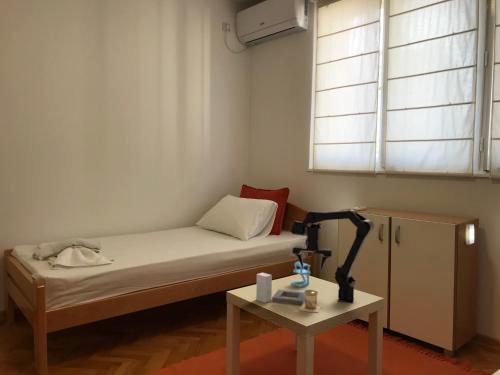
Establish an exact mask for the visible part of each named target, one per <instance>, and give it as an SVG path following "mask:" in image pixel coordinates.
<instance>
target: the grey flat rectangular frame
mask: <svg viewBox="0 0 500 375" xmlns="http://www.w3.org/2000/svg"><path fill="white" fill-rule="evenodd" d="M284 296H285V297H284ZM286 296H288V297H286ZM294 297H295V298H294ZM271 301H272V302H275V303H276V302H277V303H283V304H291V305H300V306H302V305H303V303H304V304H305V291H304V292H303V291H296V290H287V289H277V291H275V293H274V294H273V296H272V297H271Z"/></svg>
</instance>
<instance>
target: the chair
mask: <svg viewBox="0 0 500 375" xmlns="http://www.w3.org/2000/svg"><path fill="white" fill-rule="evenodd" d="M293 265H294V269H293V270H292V271H293V273H295V274H297V275H300V276H301V278H302V280H299V281H291V282H290V284H291V285H293V286H295V287H298V288H303V287H306V286H308V285H310V276H311V273H312V272H311V271H310V268H311V264H308V263H305V262H303V268H302V266H301V263H300V261H296V262H295V263H293ZM297 267H299V269H297ZM305 267H307V270H306V269H305ZM305 276H306V277H305Z"/></svg>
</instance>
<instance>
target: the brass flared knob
mask: <svg viewBox="0 0 500 375" xmlns="http://www.w3.org/2000/svg"><path fill="white" fill-rule="evenodd" d="M304 293H305V302H304V304H305V308H306V309H309V310H314V309H316V307H317V305H318V304H317V301H318V295H319V294H318V290H314V289H305V290H304Z"/></svg>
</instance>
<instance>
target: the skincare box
mask: <svg viewBox="0 0 500 375" xmlns="http://www.w3.org/2000/svg"><path fill="white" fill-rule="evenodd" d="M272 276H273V275H272V274H268V273H266V272H261V273H257V274H256V287H255V288H256V290H255V291H256V294H255V295H256V296H255V297H256V298H255V300H257V301H260V302H262V303H265V304H266V303H269V302H271V301H272V297H273V296H272V294H273V293H272V291H273V290H272V287H273V286H272V284H273V281H272V280H273V279H272V278H273V277H272Z"/></svg>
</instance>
